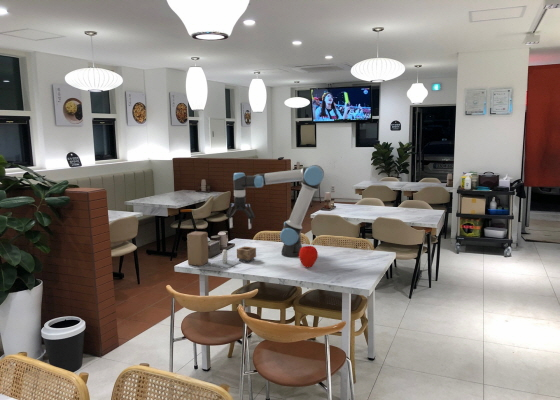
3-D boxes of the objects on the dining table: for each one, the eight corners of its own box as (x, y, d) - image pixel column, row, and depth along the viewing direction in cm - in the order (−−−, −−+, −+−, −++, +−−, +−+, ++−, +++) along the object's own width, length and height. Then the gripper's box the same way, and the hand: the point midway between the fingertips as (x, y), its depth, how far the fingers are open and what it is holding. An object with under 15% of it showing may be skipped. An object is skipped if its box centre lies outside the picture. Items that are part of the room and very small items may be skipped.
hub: (240, 263, 286) (240, 248, 285) (227, 268, 274) (226, 253, 273) (222, 260, 293) (222, 246, 292) (209, 265, 281) (208, 250, 280)
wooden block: (209, 262, 289) (208, 231, 286) (201, 266, 280) (200, 235, 277) (195, 260, 292) (194, 230, 289) (187, 265, 283) (186, 234, 280)
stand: (254, 259, 294) (253, 249, 293) (248, 262, 288) (247, 251, 287) (245, 258, 297) (245, 248, 296) (239, 261, 291) (238, 250, 290)
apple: (312, 270, 269) (312, 249, 267) (295, 268, 275) (295, 246, 273) (320, 266, 279) (321, 245, 277) (304, 263, 285) (304, 242, 283)
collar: (256, 256, 294) (255, 247, 293) (248, 260, 286) (248, 250, 285) (244, 255, 298) (244, 246, 297) (236, 258, 291) (236, 249, 290)
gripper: (259, 196, 292) (260, 227, 295) (225, 195, 301) (226, 226, 304) (255, 197, 285) (255, 230, 288) (220, 196, 294) (221, 228, 297)
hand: (240, 228), depth 296 cm, fingers open, 13 cm apart
